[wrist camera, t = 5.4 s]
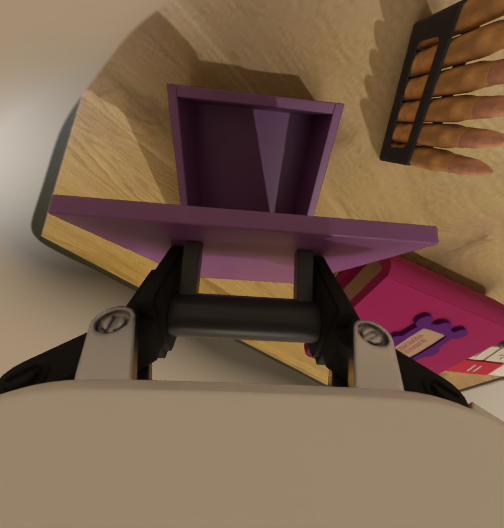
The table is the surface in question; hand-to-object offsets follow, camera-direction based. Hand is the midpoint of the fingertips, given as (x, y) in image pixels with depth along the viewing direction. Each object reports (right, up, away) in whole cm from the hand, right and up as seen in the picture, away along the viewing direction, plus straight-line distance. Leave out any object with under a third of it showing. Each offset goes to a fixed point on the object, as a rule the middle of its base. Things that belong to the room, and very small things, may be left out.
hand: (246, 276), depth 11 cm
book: (+26, -8, +28) cm, 39 cm away
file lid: (0, +1, +5) cm, 5 cm away
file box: (0, +10, +15) cm, 18 cm away
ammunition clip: (+16, +17, +10) cm, 25 cm away
